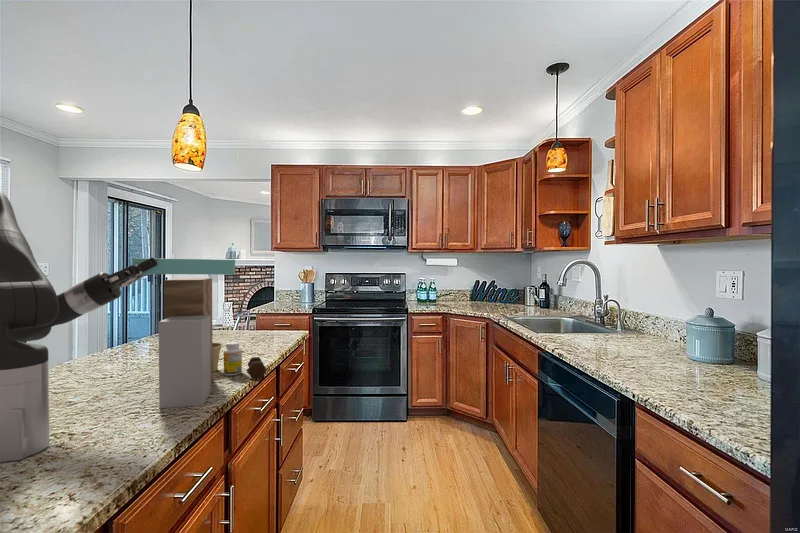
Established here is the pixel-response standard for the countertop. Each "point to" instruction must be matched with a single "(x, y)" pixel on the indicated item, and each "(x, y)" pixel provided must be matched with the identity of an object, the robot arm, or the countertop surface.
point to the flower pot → (216, 355)
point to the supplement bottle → (232, 359)
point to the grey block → (184, 361)
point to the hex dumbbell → (256, 368)
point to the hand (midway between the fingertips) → (158, 260)
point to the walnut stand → (189, 301)
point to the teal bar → (189, 266)
